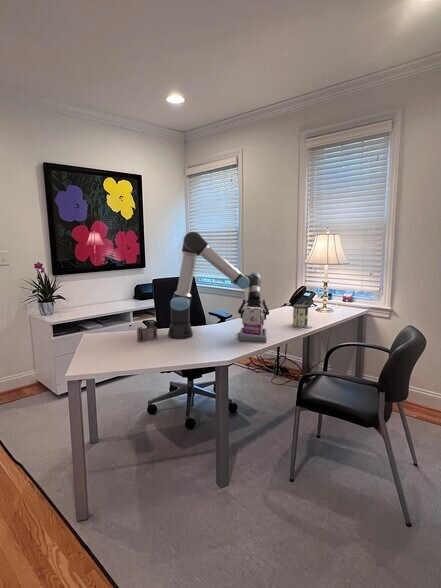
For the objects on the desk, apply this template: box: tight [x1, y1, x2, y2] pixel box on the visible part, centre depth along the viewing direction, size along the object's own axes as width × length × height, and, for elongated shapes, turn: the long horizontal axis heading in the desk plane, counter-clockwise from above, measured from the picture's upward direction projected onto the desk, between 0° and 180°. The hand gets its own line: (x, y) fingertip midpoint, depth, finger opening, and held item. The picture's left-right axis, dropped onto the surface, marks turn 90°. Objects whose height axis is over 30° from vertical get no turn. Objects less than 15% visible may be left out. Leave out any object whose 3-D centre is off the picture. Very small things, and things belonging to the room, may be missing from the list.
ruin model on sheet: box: [136, 326, 158, 343], centre depth 208 cm, size 11×3×10 cm, turn 119°
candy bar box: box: [243, 305, 264, 335], centre depth 214 cm, size 11×5×16 cm, turn 67°
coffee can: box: [292, 303, 309, 328], centre depth 246 cm, size 10×10×14 cm
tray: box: [238, 327, 267, 343], centre depth 217 cm, size 16×20×3 cm
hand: (253, 323), depth 213 cm, fingers closed on candy bar box, 12 cm apart
